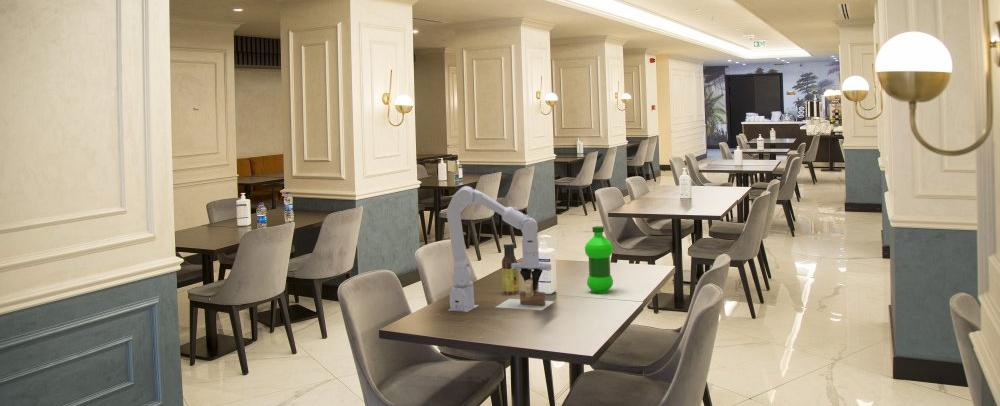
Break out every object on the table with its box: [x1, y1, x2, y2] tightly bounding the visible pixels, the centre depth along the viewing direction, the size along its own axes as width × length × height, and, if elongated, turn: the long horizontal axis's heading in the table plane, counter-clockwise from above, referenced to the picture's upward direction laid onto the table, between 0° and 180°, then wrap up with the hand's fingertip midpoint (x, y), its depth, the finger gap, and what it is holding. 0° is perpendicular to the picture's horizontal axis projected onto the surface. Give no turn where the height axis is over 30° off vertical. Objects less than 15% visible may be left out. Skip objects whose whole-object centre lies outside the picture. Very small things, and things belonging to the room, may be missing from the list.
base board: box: [495, 298, 556, 311], centre depth 272 cm, size 13×18×1 cm
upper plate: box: [524, 277, 540, 298], centre depth 270 cm, size 8×2×6 cm, turn 156°
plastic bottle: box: [584, 225, 614, 294], centre depth 287 cm, size 10×10×25 cm
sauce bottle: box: [501, 242, 520, 296], centre depth 290 cm, size 7×6×20 cm
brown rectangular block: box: [519, 290, 546, 306], centre depth 271 cm, size 2×9×4 cm, turn 66°
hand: (532, 289), depth 270 cm, fingers closed on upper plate, 2 cm apart
